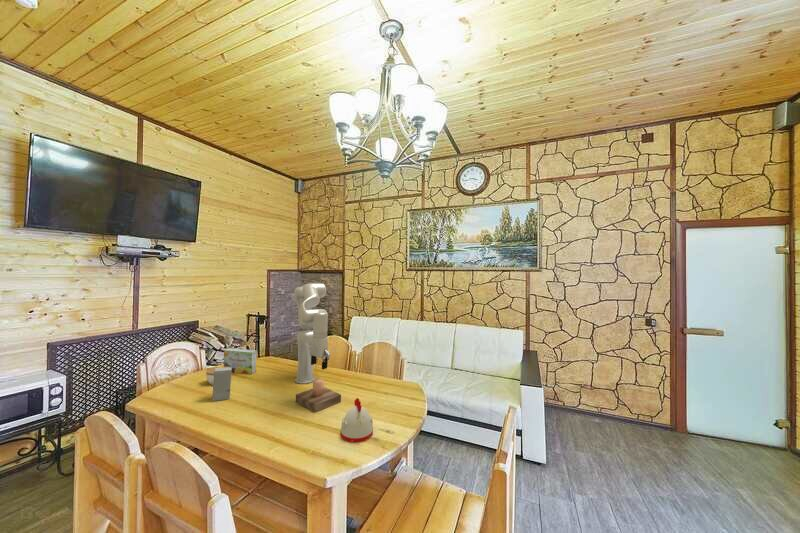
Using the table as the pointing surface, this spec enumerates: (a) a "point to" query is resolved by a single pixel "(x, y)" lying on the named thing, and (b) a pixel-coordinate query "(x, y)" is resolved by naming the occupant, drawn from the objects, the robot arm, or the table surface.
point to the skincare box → (221, 383)
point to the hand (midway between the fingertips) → (318, 366)
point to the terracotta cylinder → (318, 387)
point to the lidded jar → (210, 375)
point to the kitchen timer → (357, 424)
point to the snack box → (240, 360)
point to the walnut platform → (318, 399)
